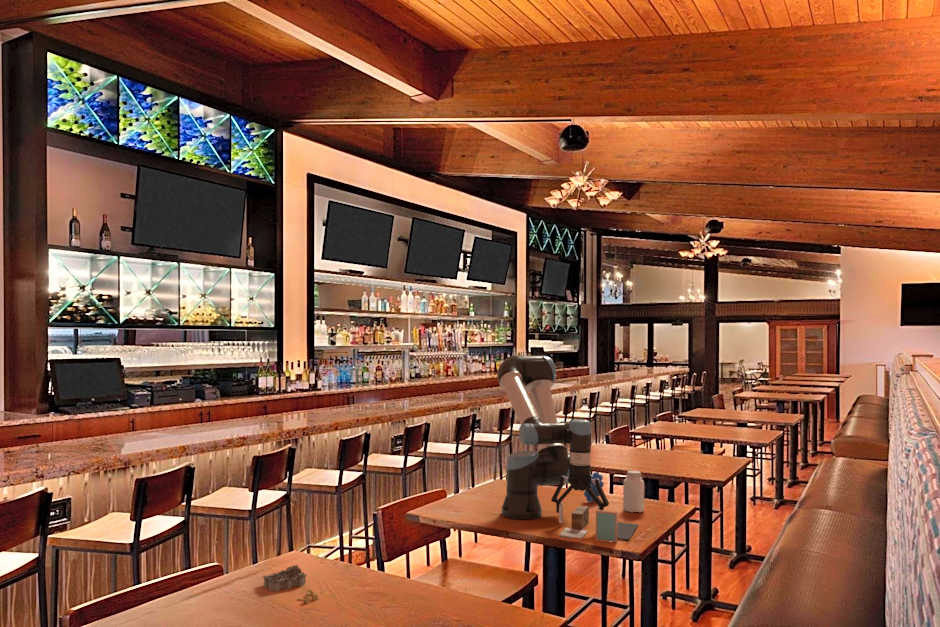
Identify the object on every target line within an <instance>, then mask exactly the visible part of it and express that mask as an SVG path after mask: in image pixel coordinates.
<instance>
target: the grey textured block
mask: <svg viewBox="0 0 940 627" xmlns="http://www.w3.org/2000/svg"><path fill="white" fill-rule="evenodd" d="M306 577H307V574H306V573H305V572H302V570H301V567H300V566H299V565H298V564H296V565H294V564H293V565H291V566H289V567H287V568H286V569H283V570H280V571H279V572H274V573H272V574H269V575H262V578H263V579H264V580H263V584H264V585H263V587H264V588H268V591H269V592H271V591H272V592H279V591H280V590H281V589H282V590H283V589H287V590H290V589H292V588H293V587H303V586H304V584H306Z"/></svg>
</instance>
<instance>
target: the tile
mask: <svg viewBox="0 0 940 627" xmlns="http://www.w3.org/2000/svg"><path fill="white" fill-rule="evenodd" d="M618 516H619V512H618V511H615V510H606V509H604V510H597V509H596V510H595V541H596V540H602V541H601V542H603V541H612V542H617V543H618V540H617V533H618V522H619V520H618V518H619V517H618Z"/></svg>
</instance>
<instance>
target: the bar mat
mask: <svg viewBox="0 0 940 627" xmlns="http://www.w3.org/2000/svg"><path fill="white" fill-rule="evenodd" d="M638 527H639V524H638V523H629V522H628V523H627V522H619V521H618V533H617V539H622V540H621V541H623V540H629V541H630V540H631V539H630V538H632V537H633V536H634V534H635V532H636V530H637V529H638ZM636 528H637V529H636ZM633 533H634V534H633ZM631 536H632V537H631Z"/></svg>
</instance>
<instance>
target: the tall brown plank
mask: <svg viewBox="0 0 940 627" xmlns="http://www.w3.org/2000/svg"><path fill="white" fill-rule="evenodd" d="M589 511H590V507H589V506H587V505H578V506H577V507H576V508H575V509H574V511H572V513H571V527H564V528H563V530H562V531H561V532H560V533H559V534H558V538H565V537H566V538H567V539H573V538H578V539H577V540H581V539H582V538H583V539H584V538H585V537H586V535H587V534H588V533H589V529H588V530H587V529H585V528H586V527H587V526H586V525H589V521H590V518H589V517H590V512H589ZM585 526H586V527H585ZM584 527H585V528H584ZM583 528H584V529H583ZM587 532H588V533H587ZM586 533H587V534H586ZM585 534H586V535H585ZM583 539H582V540H583Z"/></svg>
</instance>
